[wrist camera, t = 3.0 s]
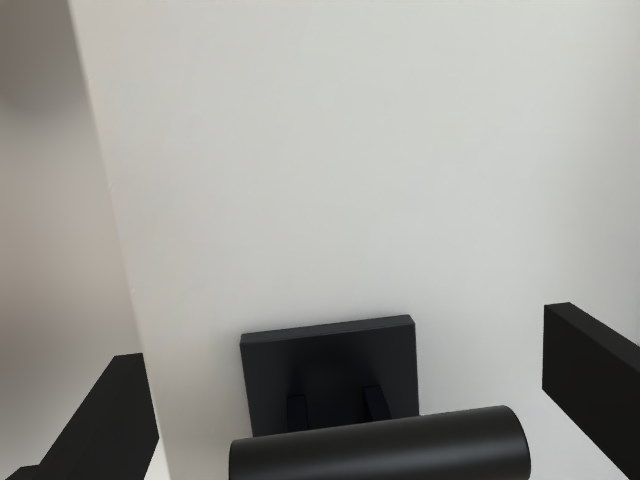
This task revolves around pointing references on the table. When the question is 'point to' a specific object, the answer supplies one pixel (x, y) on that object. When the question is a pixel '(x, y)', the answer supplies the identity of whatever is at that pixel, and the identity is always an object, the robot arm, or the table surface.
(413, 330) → the lever bracket
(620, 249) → the table surface
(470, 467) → the lever
